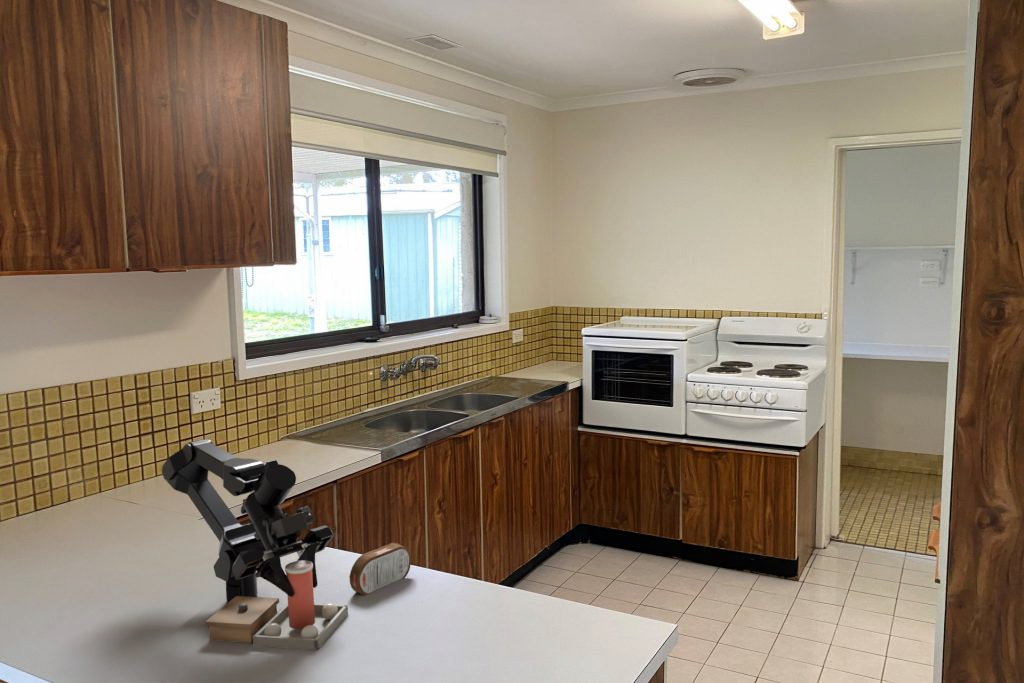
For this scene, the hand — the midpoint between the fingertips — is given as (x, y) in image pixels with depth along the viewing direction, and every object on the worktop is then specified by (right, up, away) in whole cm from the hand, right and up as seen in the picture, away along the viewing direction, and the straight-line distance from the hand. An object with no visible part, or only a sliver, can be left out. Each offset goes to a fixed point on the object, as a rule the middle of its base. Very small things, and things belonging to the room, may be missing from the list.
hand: (304, 591), depth 144 cm
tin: (+11, -6, +21) cm, 24 cm away
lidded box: (-12, -9, +3) cm, 15 cm away
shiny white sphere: (-5, -8, -2) cm, 10 cm away
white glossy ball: (+2, -8, -3) cm, 9 cm away
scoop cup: (-1, -6, +2) cm, 7 cm away
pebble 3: (+3, -7, +5) cm, 10 cm away
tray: (-1, -8, +2) cm, 9 cm away
